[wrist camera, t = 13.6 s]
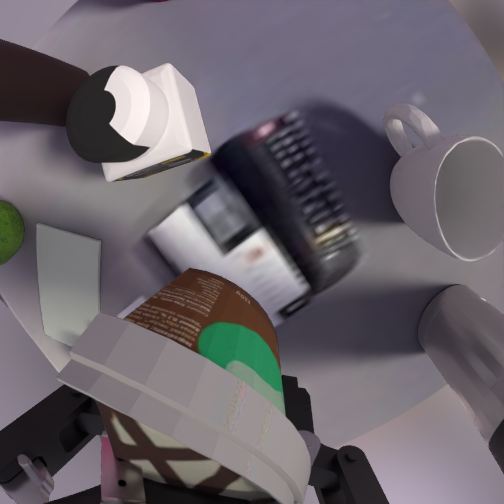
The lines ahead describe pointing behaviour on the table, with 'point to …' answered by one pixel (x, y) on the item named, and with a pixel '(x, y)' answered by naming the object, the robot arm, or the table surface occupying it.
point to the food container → (194, 391)
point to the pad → (67, 281)
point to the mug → (447, 186)
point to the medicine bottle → (136, 122)
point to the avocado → (10, 231)
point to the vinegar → (35, 86)
